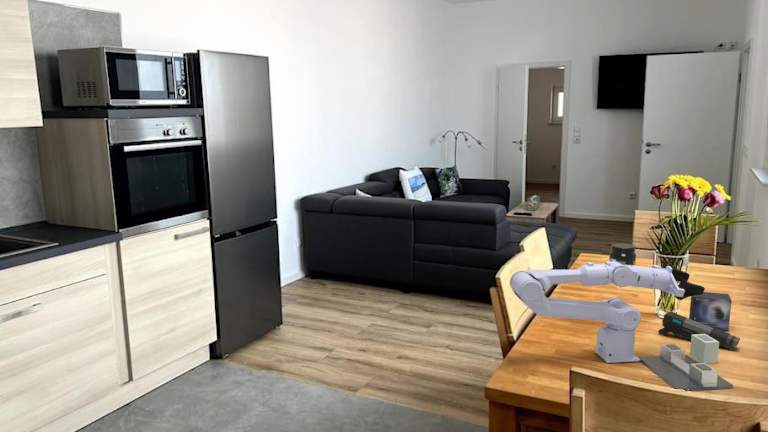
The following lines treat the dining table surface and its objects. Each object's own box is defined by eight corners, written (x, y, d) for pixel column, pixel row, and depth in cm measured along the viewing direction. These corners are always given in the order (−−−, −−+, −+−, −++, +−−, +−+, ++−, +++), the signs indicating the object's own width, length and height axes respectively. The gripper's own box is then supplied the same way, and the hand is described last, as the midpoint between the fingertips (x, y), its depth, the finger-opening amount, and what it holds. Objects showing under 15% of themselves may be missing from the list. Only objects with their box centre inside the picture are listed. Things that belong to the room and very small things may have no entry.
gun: (658, 329, 183) (672, 302, 180) (725, 366, 173) (741, 338, 169) (654, 334, 180) (668, 306, 176) (721, 371, 169) (738, 342, 166)
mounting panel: (678, 391, 143) (680, 373, 143) (637, 359, 162) (639, 343, 161) (733, 388, 145) (734, 370, 144) (686, 357, 163) (687, 341, 163)
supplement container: (636, 272, 250) (638, 244, 248) (632, 278, 242) (634, 249, 239) (610, 269, 256) (612, 242, 254) (605, 275, 247) (607, 246, 245)
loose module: (703, 363, 159) (705, 342, 158) (689, 355, 165) (691, 334, 164) (717, 363, 160) (719, 341, 158) (703, 354, 165) (705, 333, 164)
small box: (690, 328, 185) (693, 296, 183) (688, 321, 191) (690, 290, 190) (729, 332, 182) (732, 299, 180) (725, 325, 188) (728, 293, 186)
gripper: (666, 277, 153) (715, 283, 154) (641, 253, 166) (686, 259, 167) (657, 301, 155) (705, 307, 156) (633, 275, 169) (678, 281, 170)
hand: (695, 284), depth 162 cm, fingers open, 7 cm apart
